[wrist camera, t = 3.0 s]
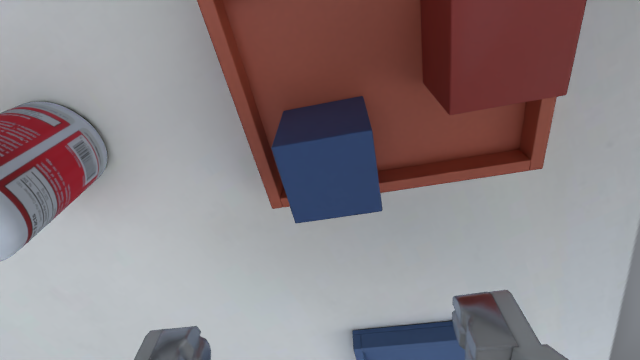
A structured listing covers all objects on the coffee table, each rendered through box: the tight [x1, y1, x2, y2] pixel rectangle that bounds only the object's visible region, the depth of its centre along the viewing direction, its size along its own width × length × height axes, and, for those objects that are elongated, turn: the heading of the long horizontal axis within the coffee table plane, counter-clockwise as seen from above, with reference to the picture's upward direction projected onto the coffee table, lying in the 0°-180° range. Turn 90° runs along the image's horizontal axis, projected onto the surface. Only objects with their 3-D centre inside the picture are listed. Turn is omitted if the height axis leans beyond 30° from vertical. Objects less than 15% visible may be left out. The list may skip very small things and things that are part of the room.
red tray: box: [197, 0, 556, 209], centre depth 18 cm, size 18×14×2 cm
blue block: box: [271, 96, 382, 223], centre depth 19 cm, size 5×5×5 cm
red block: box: [420, 0, 587, 115], centre depth 15 cm, size 5×5×5 cm
